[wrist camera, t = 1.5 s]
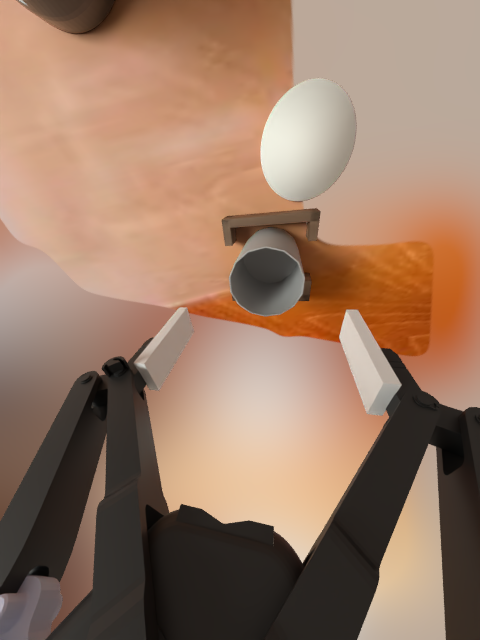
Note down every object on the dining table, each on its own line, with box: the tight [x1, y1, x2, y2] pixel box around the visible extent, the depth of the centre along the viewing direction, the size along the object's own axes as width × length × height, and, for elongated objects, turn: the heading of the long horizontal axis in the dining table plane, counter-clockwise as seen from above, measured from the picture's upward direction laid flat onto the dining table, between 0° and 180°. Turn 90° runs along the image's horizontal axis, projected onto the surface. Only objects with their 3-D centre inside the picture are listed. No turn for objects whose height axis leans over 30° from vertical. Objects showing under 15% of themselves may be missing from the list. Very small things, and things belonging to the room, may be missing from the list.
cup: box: [229, 227, 305, 316], centre depth 25 cm, size 8×8×10 cm
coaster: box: [261, 78, 356, 201], centre depth 21 cm, size 10×10×1 cm
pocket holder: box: [222, 208, 320, 301], centre depth 28 cm, size 12×12×3 cm
